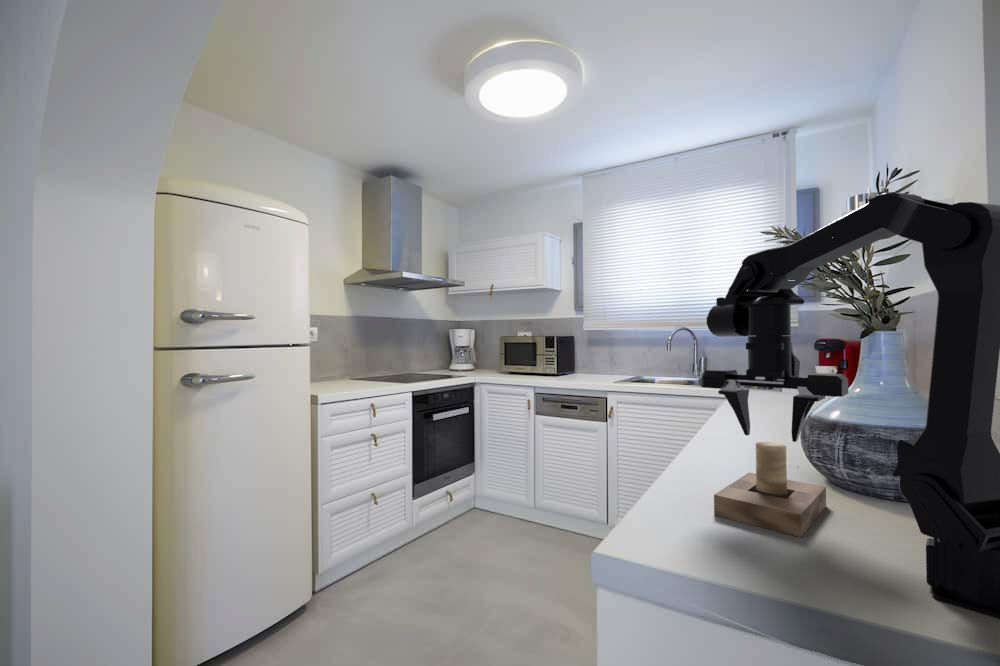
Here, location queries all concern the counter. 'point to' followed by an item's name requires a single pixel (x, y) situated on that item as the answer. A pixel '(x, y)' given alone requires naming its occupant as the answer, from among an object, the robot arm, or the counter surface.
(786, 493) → the oak peg
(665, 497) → the counter surface
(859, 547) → the counter surface
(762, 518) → the walnut board
